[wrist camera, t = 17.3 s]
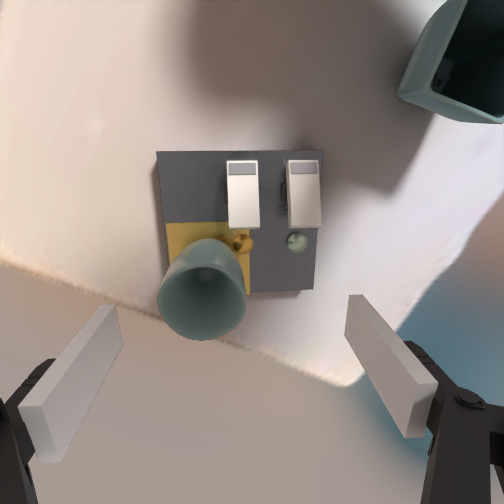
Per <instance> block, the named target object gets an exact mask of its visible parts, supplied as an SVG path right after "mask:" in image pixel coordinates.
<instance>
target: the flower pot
mask: <svg viewBox="0 0 504 504" xmlns="http://www.w3.org/2000/svg"><path fill="white" fill-rule="evenodd" d="M437 80H438V81H439V84H438V85H436V81H437ZM397 97H398V98H399V99H401V100H404V101H407V102H409V103H412V104H414V105H417V106H419V107H422V108H424V109H427V110H429V111H432V112H434V113H437V114H439V115H441V116H444V117H446V118H449V119H452V120H455V121H460V122H471V123H488V124H502V123H504V0H447V1H446V2H445V3H444V4H443V5H442V6H441V7H440V8H439V9H438V10H437V11H436V12H435V13H434V14H433V16H432V17H431V18H430V20H429V21H428V23H427V24H426V26H425V27H424V29H423V31H422V33H421V35H420V37H419V39H418V42H417V44H416V46H415V49H414V51H413V54H412V56H411V58H410V61H409V63H408V66H407V68H406V70H405V73H404V75H403V77H402V80H401V82H400V85H399V87H398V89H397Z"/></svg>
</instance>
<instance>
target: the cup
mask: <svg viewBox="0 0 504 504" xmlns="http://www.w3.org/2000/svg"><path fill="white" fill-rule="evenodd" d="M246 305H247V298H246V287H245V280H244V274H243V271H242V267H241V264H240V262H239V260H238V258H237V256H236V254H235V253H234V252H233V250H232V249H231V248H230V247H229V246H228V245H227V244H225V243H224V242H222V241H220V240H217V239H212V238H205V239H200V240H196V241H194V242H192V243H190V244H189V245H187V246H186V247H184V248H183V249H182V250H181V251H180V252H179V253H178V254H177V256H176V257H175V258H174V260H173V262H172V263H171V265H170V266H169V268H168V270H167V272H166V274H165V276H164V278H163V281H162V283H161V286H160V289H159V292H158V307H159V311H160V313H161V315H162V317H163V319H164V320H165V322H166V323H167V324H168V325H169V327H170V328H171V329H173V330H174V331H175V332H176V333H178V334H179V335H181V336H183V337H185V338H188V339H192V340H199V341H203V340H211V339H214V338H218V337H220V336H222V335H225V334H226V333H228V332H229V331H231V330H232V329H233V328H235V327H236V326H237V325H238V324H239V322H240V321H241V320H242V318H243V316H244V314H245V311H246Z"/></svg>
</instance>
